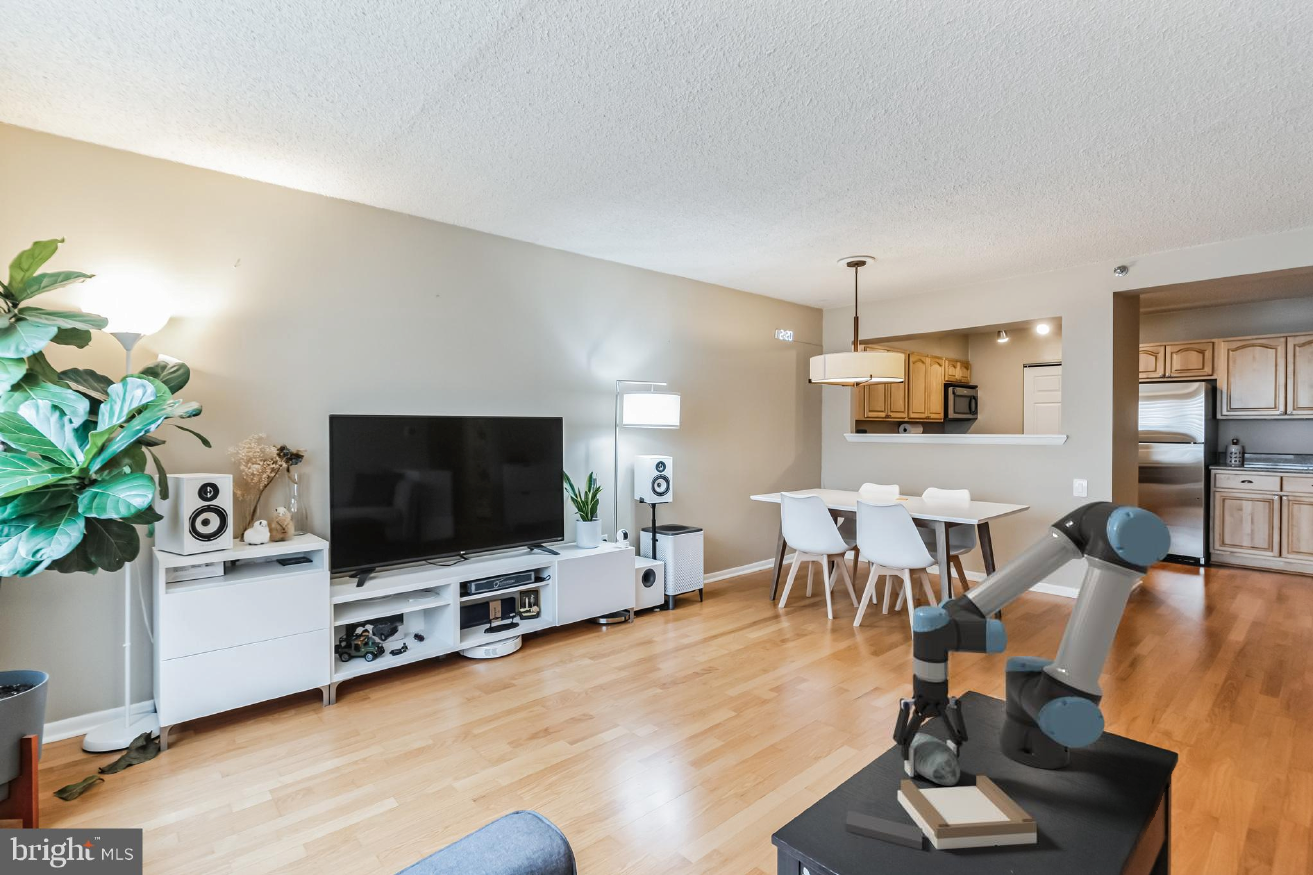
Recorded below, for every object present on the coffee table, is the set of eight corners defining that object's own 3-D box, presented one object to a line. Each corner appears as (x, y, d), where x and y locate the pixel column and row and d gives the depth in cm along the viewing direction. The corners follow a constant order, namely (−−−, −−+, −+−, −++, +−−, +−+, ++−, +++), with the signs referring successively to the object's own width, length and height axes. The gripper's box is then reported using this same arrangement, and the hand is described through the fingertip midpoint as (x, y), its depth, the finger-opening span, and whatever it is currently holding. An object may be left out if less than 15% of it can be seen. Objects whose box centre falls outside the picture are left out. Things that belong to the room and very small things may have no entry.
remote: (848, 820, 128) (848, 810, 128) (922, 838, 123) (922, 828, 123) (845, 833, 124) (845, 823, 124) (921, 852, 119) (921, 841, 119)
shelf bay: (985, 794, 136) (986, 773, 136) (1036, 842, 120) (1036, 819, 120) (897, 799, 135) (897, 778, 135) (937, 849, 119) (937, 825, 119)
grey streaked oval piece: (977, 773, 139) (952, 732, 139) (947, 800, 136) (922, 759, 137) (938, 757, 151) (915, 720, 152) (910, 782, 149) (887, 744, 150)
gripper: (967, 667, 148) (966, 760, 149) (876, 671, 147) (876, 765, 147) (986, 680, 141) (986, 778, 141) (891, 684, 139) (891, 783, 139)
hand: (930, 772), depth 144 cm, fingers closed on grey streaked oval piece, 9 cm apart
